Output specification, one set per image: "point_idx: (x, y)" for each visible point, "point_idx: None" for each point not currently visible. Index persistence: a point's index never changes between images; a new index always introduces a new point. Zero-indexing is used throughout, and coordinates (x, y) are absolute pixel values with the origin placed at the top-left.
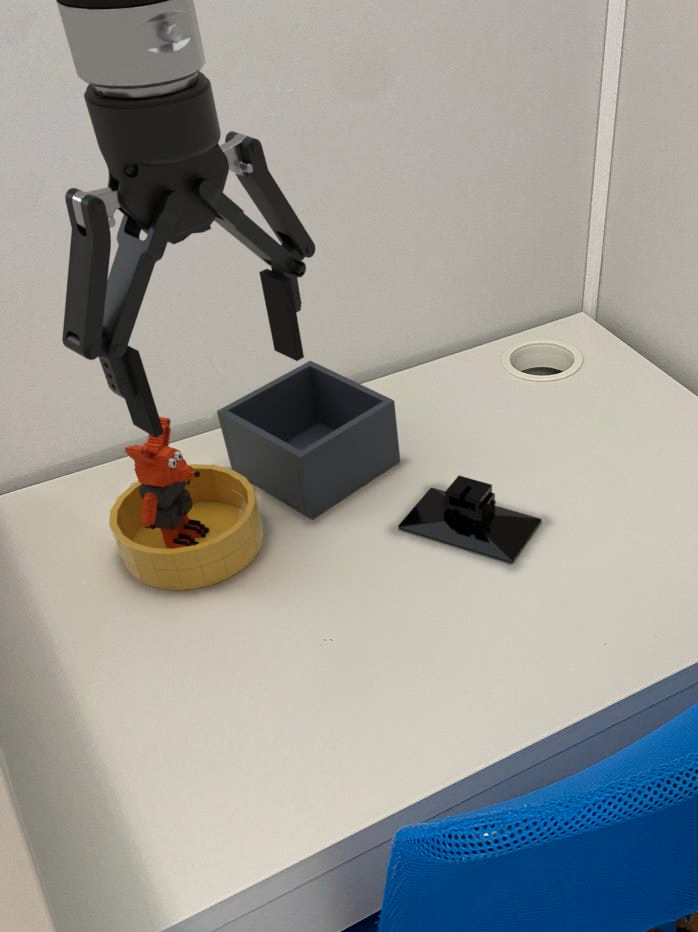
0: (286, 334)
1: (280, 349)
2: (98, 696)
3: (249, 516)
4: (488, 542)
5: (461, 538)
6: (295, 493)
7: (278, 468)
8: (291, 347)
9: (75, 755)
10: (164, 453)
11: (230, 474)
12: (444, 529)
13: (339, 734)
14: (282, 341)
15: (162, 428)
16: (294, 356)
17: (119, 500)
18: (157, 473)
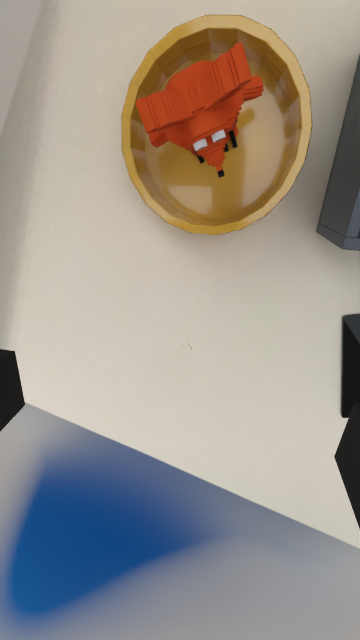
0: (358, 493)
1: (352, 425)
2: (39, 241)
3: (241, 228)
4: (355, 396)
5: (351, 375)
6: (328, 211)
7: (344, 184)
8: (345, 472)
9: (4, 272)
10: (199, 127)
11: (300, 135)
12: (356, 358)
13: (132, 397)
14: (357, 454)
15: (18, 411)
16: (337, 460)
17: (170, 39)
18: (175, 139)
